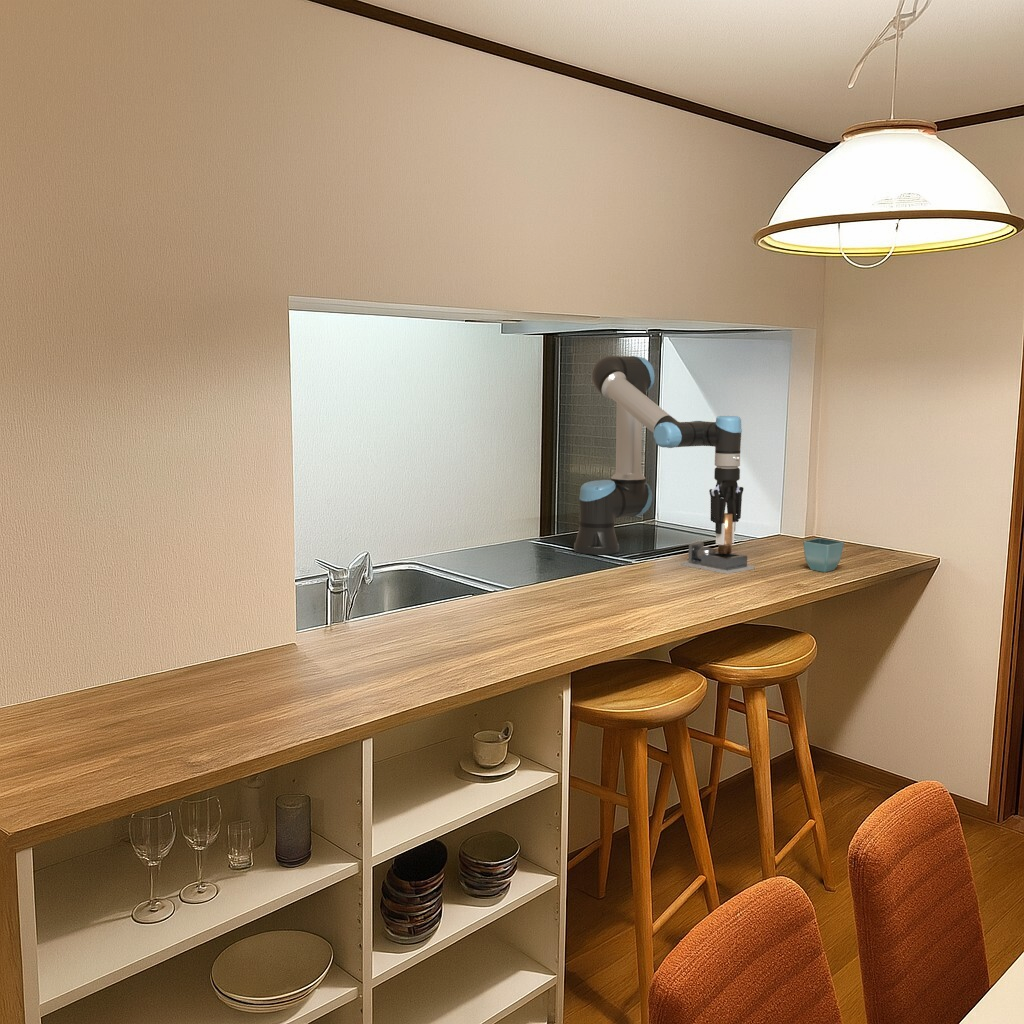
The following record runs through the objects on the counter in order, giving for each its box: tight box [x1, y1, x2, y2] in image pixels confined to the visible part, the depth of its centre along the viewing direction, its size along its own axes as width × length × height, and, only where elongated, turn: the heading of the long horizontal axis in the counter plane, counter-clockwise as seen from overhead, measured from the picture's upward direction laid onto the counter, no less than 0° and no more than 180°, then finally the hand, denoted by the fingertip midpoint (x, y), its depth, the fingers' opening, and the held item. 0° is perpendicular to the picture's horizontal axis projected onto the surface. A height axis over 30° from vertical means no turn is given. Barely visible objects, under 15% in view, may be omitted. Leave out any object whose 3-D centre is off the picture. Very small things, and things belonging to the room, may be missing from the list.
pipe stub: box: [717, 512, 733, 554], centre depth 298 cm, size 4×4×12 cm
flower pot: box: [803, 537, 845, 573], centre depth 296 cm, size 9×9×9 cm
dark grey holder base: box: [680, 541, 755, 575], centre depth 301 cm, size 18×13×6 cm
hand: (724, 543), depth 298 cm, fingers closed on pipe stub, 4 cm apart
